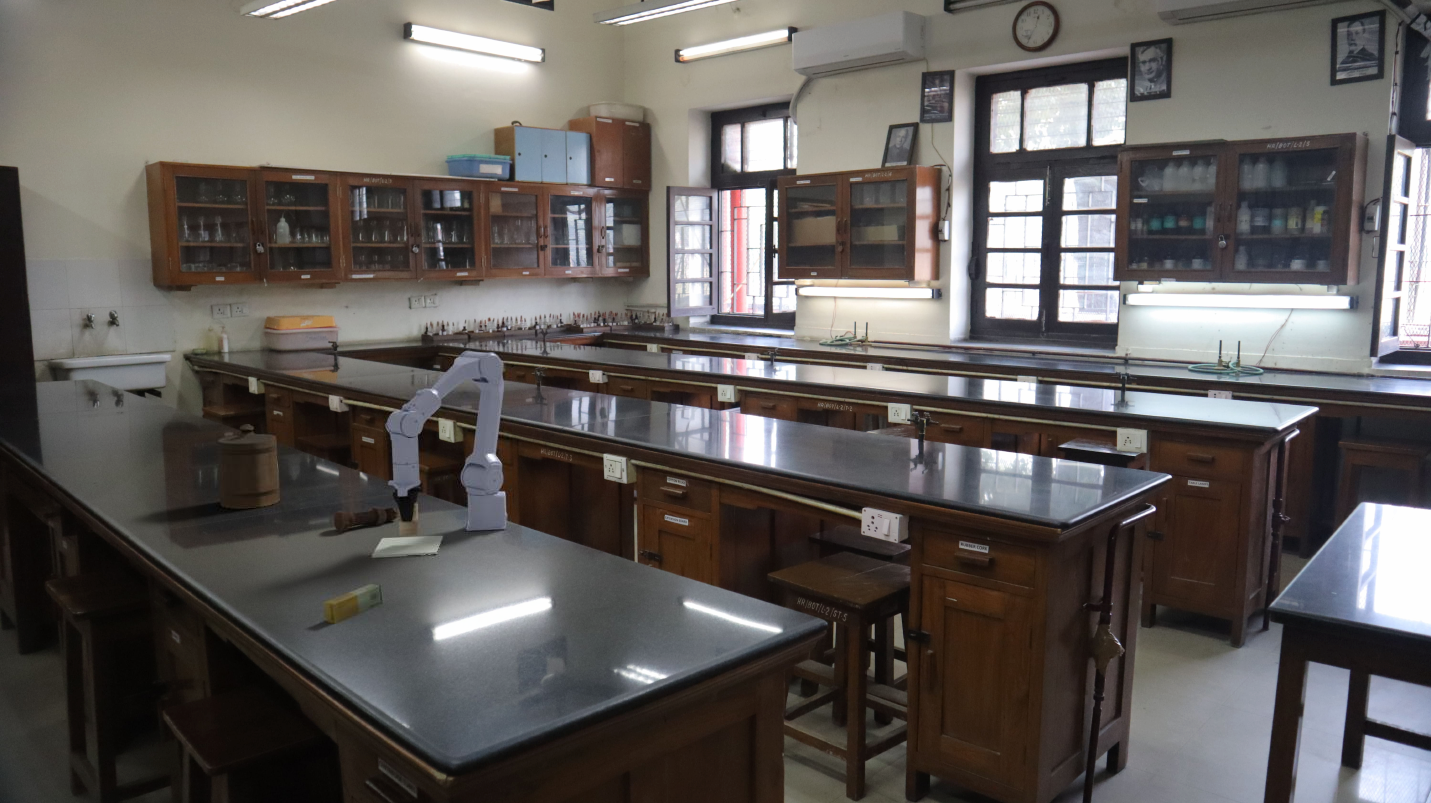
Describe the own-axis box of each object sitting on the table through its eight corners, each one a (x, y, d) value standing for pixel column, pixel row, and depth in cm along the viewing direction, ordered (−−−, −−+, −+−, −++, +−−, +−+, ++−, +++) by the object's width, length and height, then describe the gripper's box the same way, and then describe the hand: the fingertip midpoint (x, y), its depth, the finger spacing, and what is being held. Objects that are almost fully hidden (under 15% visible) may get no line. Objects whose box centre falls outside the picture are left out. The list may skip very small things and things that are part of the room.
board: (442, 537, 233) (442, 535, 233) (436, 554, 219) (436, 552, 219) (382, 540, 231) (382, 538, 231) (372, 557, 217) (371, 555, 217)
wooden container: (290, 497, 274) (286, 420, 271) (261, 510, 259) (256, 429, 256) (241, 496, 276) (236, 419, 273) (209, 508, 261) (203, 428, 258)
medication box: (373, 602, 189) (371, 582, 188) (383, 604, 188) (382, 584, 187) (324, 622, 178) (322, 601, 178) (335, 624, 177) (333, 603, 176)
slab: (418, 531, 227) (417, 502, 226) (417, 534, 225) (416, 505, 224) (401, 532, 226) (399, 503, 226) (399, 535, 224) (398, 505, 223)
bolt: (396, 528, 249) (339, 537, 238) (388, 515, 252) (331, 524, 241) (402, 510, 247) (344, 519, 236) (393, 498, 249) (336, 506, 239)
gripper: (392, 456, 230) (394, 512, 232) (382, 469, 216) (385, 528, 217) (423, 456, 231) (425, 511, 233) (415, 468, 217) (417, 527, 219)
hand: (408, 519), depth 225 cm, fingers closed on slab, 2 cm apart
